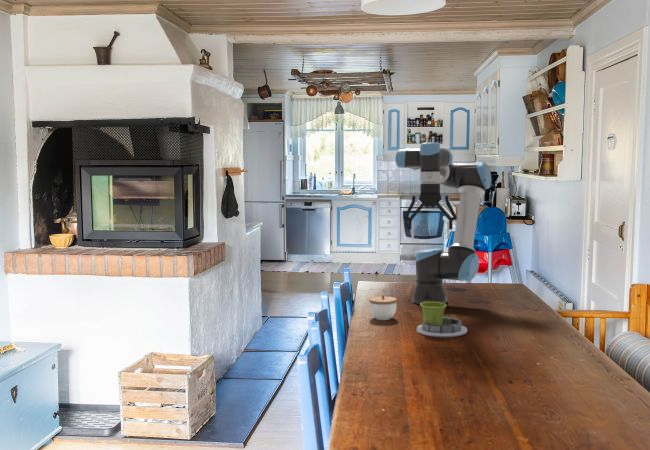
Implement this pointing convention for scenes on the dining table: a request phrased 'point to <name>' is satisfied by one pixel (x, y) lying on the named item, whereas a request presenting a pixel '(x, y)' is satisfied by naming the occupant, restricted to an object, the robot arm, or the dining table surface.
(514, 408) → the dining table surface
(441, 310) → the plant pot
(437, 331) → the hub
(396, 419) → the dining table surface
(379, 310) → the lidded jar
